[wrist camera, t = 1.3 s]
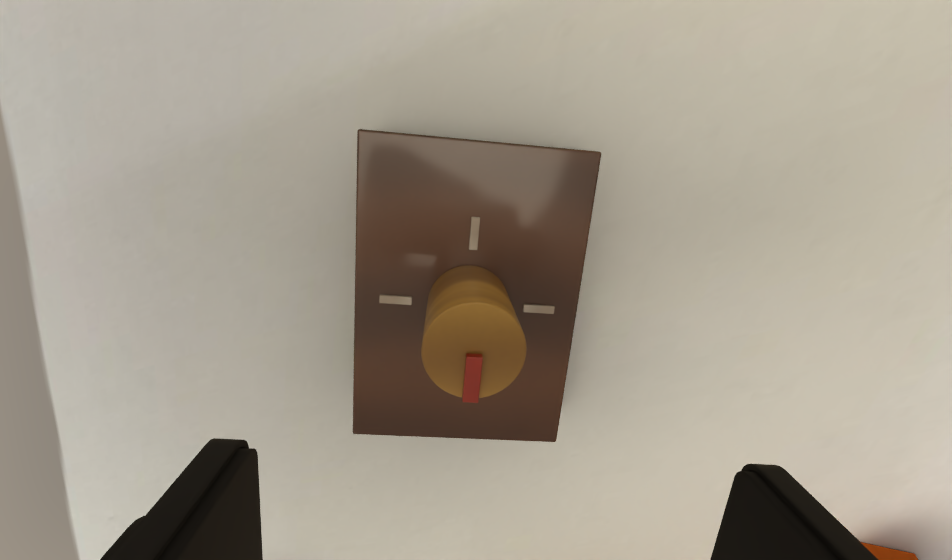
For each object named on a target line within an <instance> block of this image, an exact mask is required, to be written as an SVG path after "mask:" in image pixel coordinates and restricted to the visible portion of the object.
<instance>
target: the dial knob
mask: <svg viewBox="0 0 952 560" xmlns="http://www.w3.org/2000/svg"><path fill="white" fill-rule="evenodd" d="M526 349H527V347H526V339H525V335H524V333H523V330H522V328H521V325H520V323H519V320H518V318H517V316H516V313H515V311H514V308H513V306H512V303H511V301H510V299H509V296H508V294H507V291H506V289H505V287H504V285H503V283H502V282H501V281H500V279H499V278H498V277H497V276H496V275H495V274H493V273H492V272H490V271H489V270H487V269H484V268H482V267H478V266H472V265H466V266H459V267H455V268H453V269H450V270H449V271H447V272H445V273H444V274H442V275H441V276H440V277H439V278H438V279H437V280H436V282H435V283H434V284H433V286H432V288H431V290H430V293H429V296H428V303H427V310H426V317H425V325H424V332H423V339H422V347H421V356H422V362H423V365H424V368H425V370H426V372H427V374H428V375H429V377H430V378H431V380H432V381H433V382H434V383H435V384H436V385H437V386H438V387H440V388H441V389H442V390H444V391H446V392H448V393H450V394H452V395H455V396H458V397H462V402H469V403H478V402H479V398H483V397H487V396H491V395H493V394H496V393H498V392H500V391H502V390H503V389H505V388H506V387H507V386H509V385H510V384H511V383H512V382H513V381H514V380H515V379H516V377H517V376H518V374H519V373H520V371H521V369H522V367H523V365H524V362H525V358H526Z"/></svg>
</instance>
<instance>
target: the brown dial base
mask: <svg viewBox="0 0 952 560" xmlns="http://www.w3.org/2000/svg"><path fill="white" fill-rule="evenodd" d="M600 158H601V152H597V151H586V150H575V149H565V148H554V147H543V146H533V145H522V144H511V143H501V142H490V141H479V140H469V139H458V138H447V137H437V136H426V135H415V134H405V133H394V132H383V131H373V130H362V129H359V130H358V136H357V200H356V264H355V327H354V391H353V433H354V434H371V435H396V436H421V437H446V438H471V439H496V440H521V441H546V442H555V441H556V437H557V431H558V425H559V418H560V412H561V406H562V399H563V393H564V387H565V380H566V374H567V368H568V361H569V355H570V349H571V342H572V336H573V330H574V323H575V317H576V311H577V304H578V298H579V292H580V285H581V279H582V273H583V266H584V260H585V254H586V247H587V241H588V234H589V228H590V222H591V215H592V209H593V203H594V196H595V190H596V184H597V177H598V171H599V165H600ZM466 265H472V266H478V267H482V268H484V269H487V270H489V271H490V272H492V273H493V274H495V275H496V276H497V277H498V278H499V279H500V281H501V282H502V283H503V285H504V287H505V289H506V291H507V294H508V296H509V299H510V301H511V303H512V306H513V308H514V311H515V313H516V316H517V318H518V320H519V323H520V325H521V328H522V330H523V333H524V335H525V339H526V347H527V349H526V358H525V362H524V365H523V367H522V369H521V371H520V373H519V374H518V376H517V377H516V379H515V380H514V381H513V382H512V383H511V384H510V385H509V386H507V387H506V388H505V389H503V390H502V391H500V392H498V393H496V394H493V395H491V396H487V397H483V398H479V402H478V403H469V402H462V397H458V396H455V395H452V394H450V393H448V392H446V391H444V390H442V389H441V388H440V387H438V386H437V385H436V384H435V383H434V382H433V381H432V380H431V378H430V377H429V375H428V374H427V372H426V370H425V368H424V365H423V362H422V356H421V347H422V339H423V332H424V325H425V317H426V310H427V303H428V296H429V293H430V290H431V288H432V286H433V284H434V283H435V282H436V280H437V279H438V278H439V277H440V276H441V275H442V274H444V273H445V272H447V271H449V270H450V269H453V268H455V267H459V266H466Z"/></svg>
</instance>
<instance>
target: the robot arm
mask: <svg viewBox="0 0 952 560" xmlns="http://www.w3.org/2000/svg"><path fill="white" fill-rule="evenodd" d="M100 560H263V559H262V538H261V517H260V496H259V475H258V455H257V451H256V449H249V446H248V443H247V441H245V440H235V439H211V440H210V441H209V442H208V443H207V444H206V445H205V446H204V447H203V448H202V450H201V451H200V452H199V453H198V454H197V456H196V457H195V458H194V459H193V460H192V461H191V463H190V464H189V465H188V466H187V467H186V468H185V470H184V471H183V472H182V473H181V474H180V476H179V477H178V478H177V479H176V480H175V481H174V483H173V484H172V485H171V486H170V487H169V489H168V490H167V491H166V492H165V493H164V494H163V496H162V497H161V498H160V499H159V500H158V502H157V503H156V504H155V505H154V506H153V507H152V509H151V510H150V511H149V512H148V513H147V515H146V516H143V517H141V518H139V519H137V520H135V521H134V522H133V523H132V524H131V525H130V526H129V527H128V528H127V529H126V530H125V532H124V533H123V534H122V535H121V536H120V537H119V538H118V540H117V541H116V542H115V543H114V544H113V545H112V546H111V548H110V549H109V550H108V551H107V552H106V553H105V555H104V556H103V557H102V558H101V559H100ZM711 560H878V559H877V558H876V557H875V556H874V555H873V554H872V553H871V552H870V551H869V550H868V549H867V548H866V547H865V546H864V545H863V544H862V543H861V542H860V541H859V540H858V539H857V538H855V537H854V536H853V535H852V534H851V533H850V532H849V531H848V530H847V529H846V528H845V527H844V526H843V525H842V524H841V523H840V522H839V521H838V520H837V519H836V518H835V517H834V516H833V515H832V514H830V513H829V512H828V511H827V510H826V509H825V508H824V507H823V506H822V505H821V504H820V503H819V502H818V501H817V500H816V499H815V498H814V497H813V496H812V495H811V494H810V493H809V492H808V491H807V490H805V489H804V488H803V487H802V486H801V485H800V484H799V483H798V482H797V481H796V480H795V479H794V478H793V477H792V476H791V475H790V474H789V473H788V472H787V471H786V470H784V469H783V468H782V467H780V466H777V465H763V464H747V465H745V466H744V467H743V469H742V471H740V472H738V473H737V474H736V475H735V477H734V481H733V484H732V488H731V491H730V495H729V498H728V501H727V505H726V508H725V512H724V515H723V519H722V522H721V525H720V529H719V532H718V536H717V539H716V543H715V546H714V550H713V553H712V556H711Z"/></svg>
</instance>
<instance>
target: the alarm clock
mask: <svg viewBox="0 0 952 560" xmlns="http://www.w3.org/2000/svg"><path fill="white" fill-rule="evenodd" d="M861 543H862V542H861ZM862 544H863V545H864V546H865V547H866V548H867V549H868V550H869V551H870V552H871V553H872V554H873V555H874V556H875V557H876V558H877V559H878V560H918V558H917V557H916V555H915V554H914V553H909V552H904V551H900V550H895V549H890V548H886V547H881V546H876V545H872V544H867V543H862Z"/></svg>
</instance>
